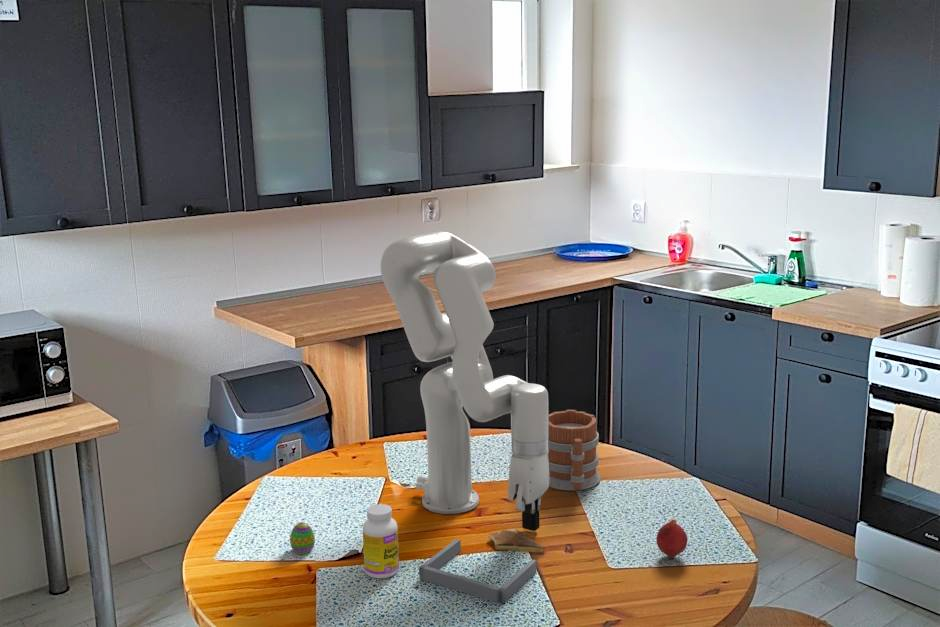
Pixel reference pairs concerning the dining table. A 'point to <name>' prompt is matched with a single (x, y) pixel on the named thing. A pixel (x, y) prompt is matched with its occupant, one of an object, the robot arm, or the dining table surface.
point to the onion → (671, 539)
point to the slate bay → (470, 586)
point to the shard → (515, 541)
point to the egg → (302, 538)
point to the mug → (572, 450)
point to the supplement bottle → (380, 542)
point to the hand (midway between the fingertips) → (530, 528)
